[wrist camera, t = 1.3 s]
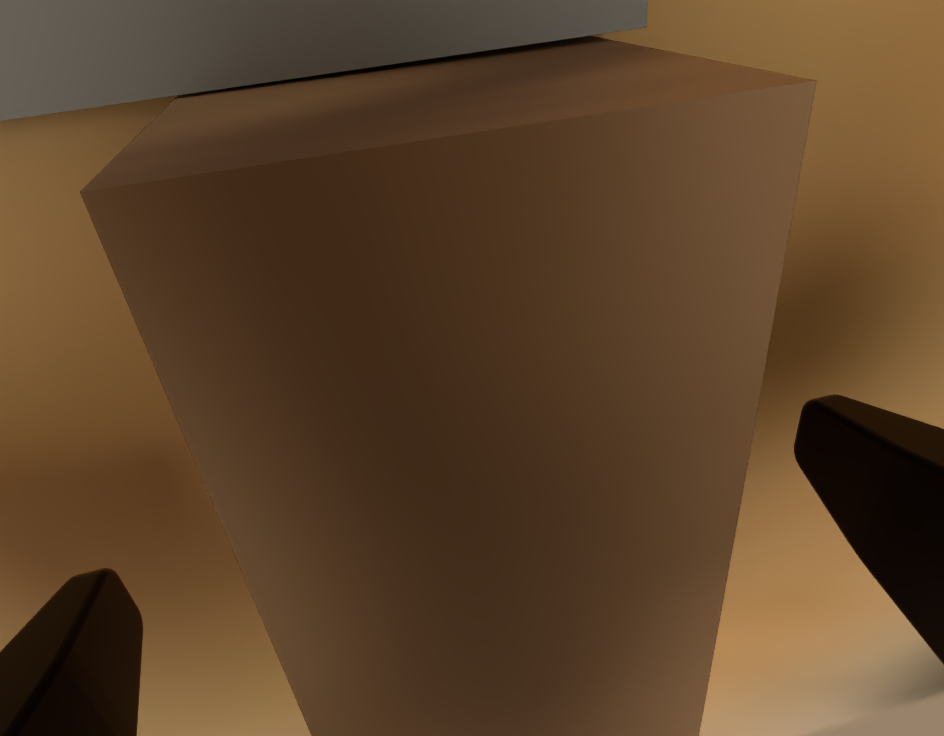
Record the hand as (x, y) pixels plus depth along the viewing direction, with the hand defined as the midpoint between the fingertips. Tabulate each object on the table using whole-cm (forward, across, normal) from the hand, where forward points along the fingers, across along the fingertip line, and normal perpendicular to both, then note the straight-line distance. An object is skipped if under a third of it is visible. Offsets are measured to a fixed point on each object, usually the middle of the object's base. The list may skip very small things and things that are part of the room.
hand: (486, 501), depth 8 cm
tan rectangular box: (+3, 0, 0) cm, 3 cm away
